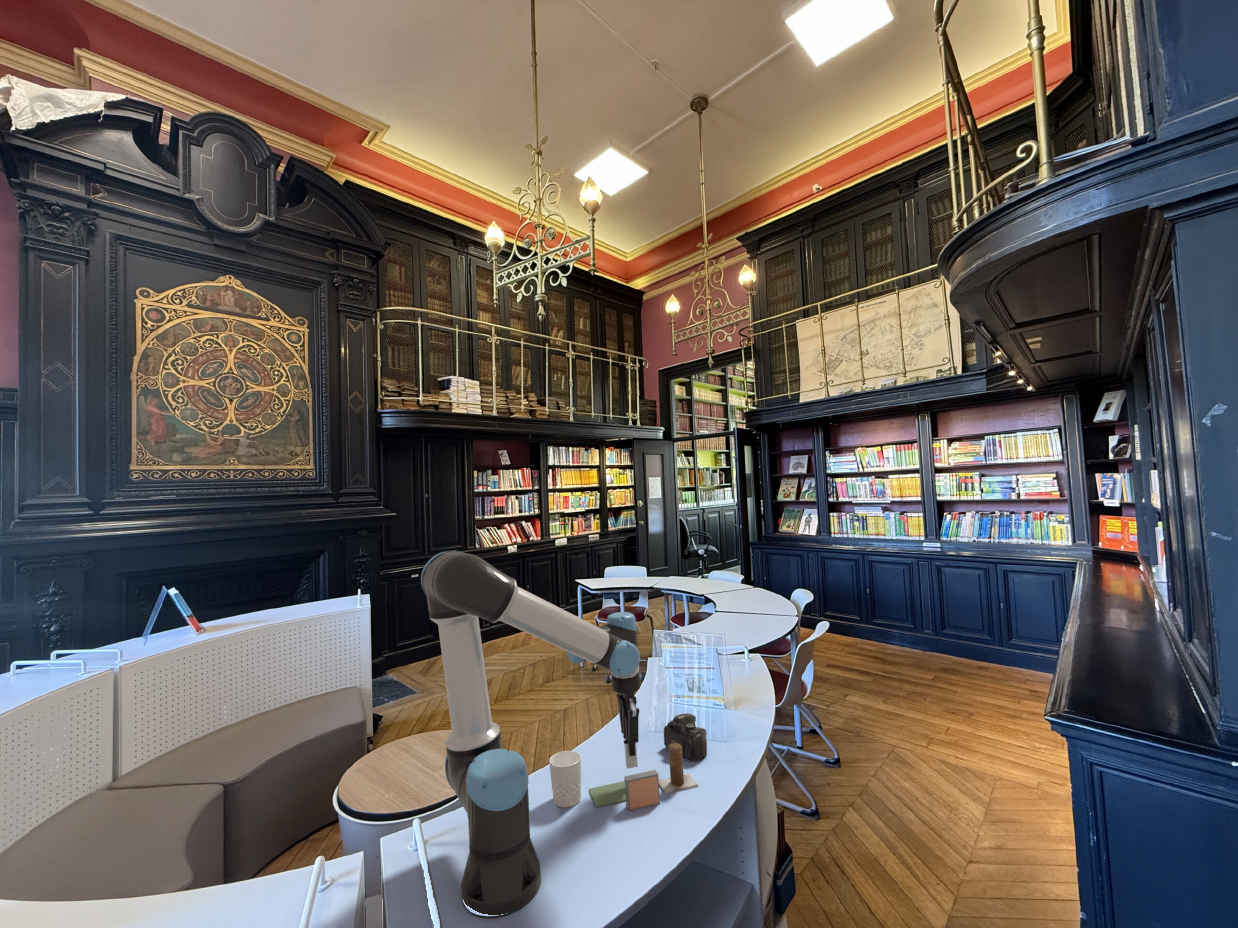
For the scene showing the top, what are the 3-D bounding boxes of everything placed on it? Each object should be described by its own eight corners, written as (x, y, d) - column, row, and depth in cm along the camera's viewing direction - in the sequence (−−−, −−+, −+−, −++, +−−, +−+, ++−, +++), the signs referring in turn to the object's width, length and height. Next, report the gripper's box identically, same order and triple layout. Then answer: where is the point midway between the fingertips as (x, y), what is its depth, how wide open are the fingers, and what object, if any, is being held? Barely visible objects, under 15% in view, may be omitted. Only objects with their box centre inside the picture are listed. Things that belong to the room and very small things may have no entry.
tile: (628, 811, 120) (626, 780, 121) (626, 806, 122) (624, 776, 123) (660, 803, 123) (658, 773, 123) (657, 799, 125) (655, 769, 125)
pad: (596, 807, 122) (595, 806, 122) (589, 790, 130) (588, 788, 130) (635, 798, 125) (635, 797, 125) (626, 781, 133) (626, 780, 133)
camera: (714, 748, 148) (711, 713, 148) (700, 764, 139) (697, 727, 140) (673, 739, 155) (671, 705, 156) (657, 753, 147) (655, 718, 147)
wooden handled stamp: (665, 794, 126) (662, 754, 127) (657, 782, 132) (655, 744, 132) (698, 786, 129) (695, 747, 130) (689, 775, 134) (686, 738, 135)
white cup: (589, 797, 127) (587, 756, 127) (565, 813, 121) (563, 769, 122) (568, 787, 132) (566, 747, 133) (544, 801, 126) (542, 760, 127)
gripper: (646, 679, 128) (653, 775, 126) (631, 663, 141) (637, 751, 139) (618, 684, 126) (625, 782, 124) (605, 668, 138) (611, 757, 137)
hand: (631, 766), depth 132 cm, fingers closed
